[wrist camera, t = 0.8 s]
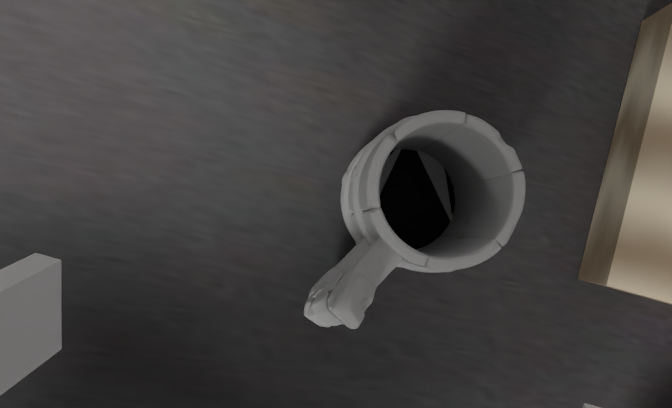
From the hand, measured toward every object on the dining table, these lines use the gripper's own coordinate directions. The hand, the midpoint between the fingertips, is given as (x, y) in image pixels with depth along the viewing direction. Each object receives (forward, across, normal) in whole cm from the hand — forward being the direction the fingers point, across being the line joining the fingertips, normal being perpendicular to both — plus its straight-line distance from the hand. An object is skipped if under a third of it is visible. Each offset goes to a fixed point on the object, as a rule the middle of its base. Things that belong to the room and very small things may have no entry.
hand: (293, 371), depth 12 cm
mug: (+18, 0, +2) cm, 18 cm away
